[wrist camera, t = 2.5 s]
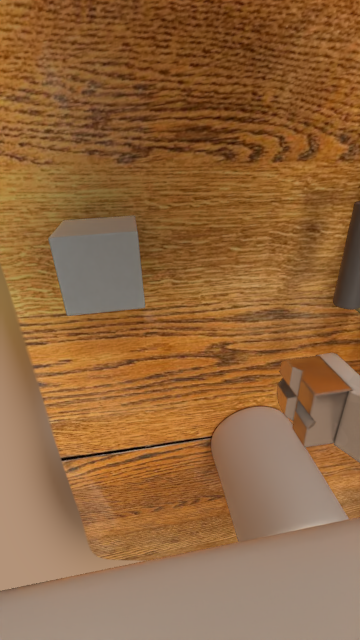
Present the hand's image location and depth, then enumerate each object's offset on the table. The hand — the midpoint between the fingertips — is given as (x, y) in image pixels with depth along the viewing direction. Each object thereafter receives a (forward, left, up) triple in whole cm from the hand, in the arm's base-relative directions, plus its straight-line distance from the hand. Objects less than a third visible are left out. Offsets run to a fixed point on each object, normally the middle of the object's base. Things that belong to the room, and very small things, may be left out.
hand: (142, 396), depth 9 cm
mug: (+22, +10, -15) cm, 28 cm away
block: (0, -2, -14) cm, 15 cm away
